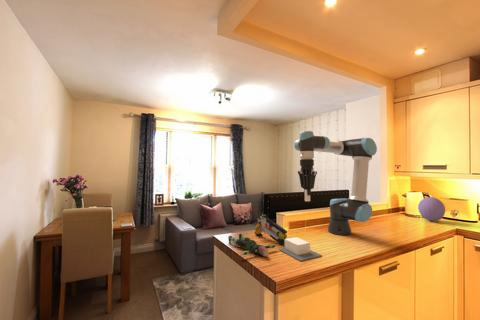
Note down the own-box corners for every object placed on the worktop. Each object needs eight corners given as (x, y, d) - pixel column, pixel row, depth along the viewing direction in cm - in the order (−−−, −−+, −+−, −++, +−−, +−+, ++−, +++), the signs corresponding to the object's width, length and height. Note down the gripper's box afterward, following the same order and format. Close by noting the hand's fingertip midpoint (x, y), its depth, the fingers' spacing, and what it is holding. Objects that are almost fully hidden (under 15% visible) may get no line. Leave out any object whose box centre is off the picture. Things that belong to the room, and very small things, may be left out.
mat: (299, 246, 130) (299, 245, 130) (322, 256, 115) (322, 255, 115) (279, 250, 124) (279, 248, 124) (300, 261, 108) (300, 260, 108)
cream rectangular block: (309, 252, 118) (295, 245, 128) (309, 242, 119) (295, 237, 128) (298, 255, 115) (284, 248, 125) (297, 245, 115) (284, 239, 125)
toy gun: (257, 231, 155) (261, 210, 152) (284, 253, 134) (288, 229, 131) (252, 232, 153) (256, 211, 150) (278, 254, 131) (283, 230, 129)
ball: (445, 225, 176) (444, 199, 177) (417, 221, 188) (416, 197, 188) (445, 221, 189) (445, 197, 189) (419, 218, 200) (419, 195, 201)
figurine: (216, 246, 131) (246, 267, 106) (216, 235, 131) (246, 253, 106) (251, 238, 145) (285, 255, 120) (252, 229, 145) (285, 244, 120)
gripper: (293, 159, 132) (294, 200, 131) (310, 158, 120) (310, 203, 119) (303, 159, 135) (304, 199, 134) (320, 158, 124) (321, 202, 123)
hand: (307, 201), depth 127 cm, fingers closed
